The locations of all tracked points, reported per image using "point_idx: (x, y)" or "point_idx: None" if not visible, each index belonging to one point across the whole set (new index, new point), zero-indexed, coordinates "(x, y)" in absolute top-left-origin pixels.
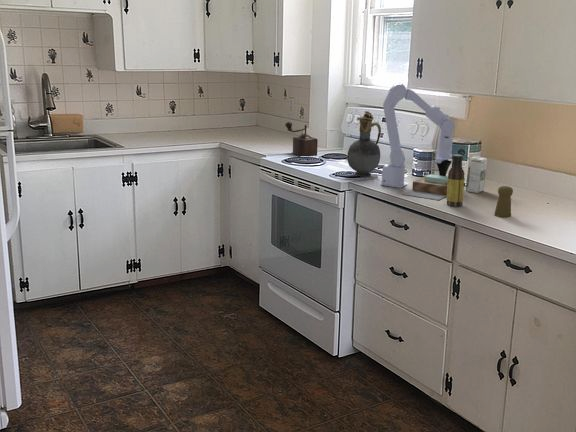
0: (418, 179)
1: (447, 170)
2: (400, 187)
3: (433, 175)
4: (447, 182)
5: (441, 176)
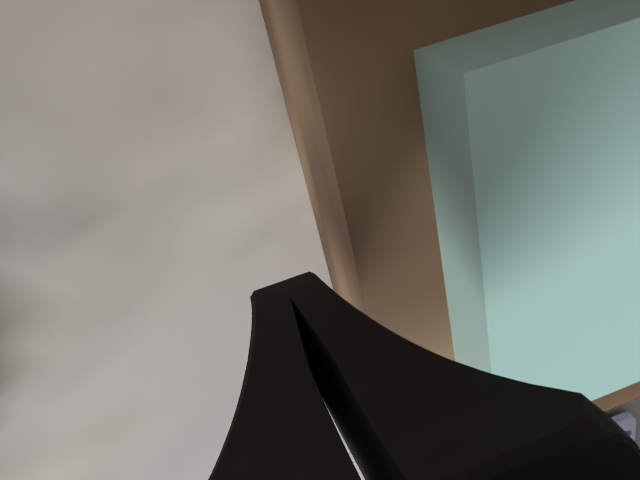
0: (602, 406)
1: (248, 374)
2: (625, 413)
3: (555, 345)
4: (526, 14)
5: (543, 214)
